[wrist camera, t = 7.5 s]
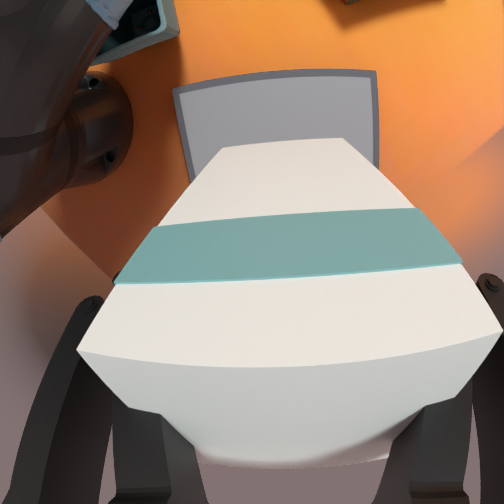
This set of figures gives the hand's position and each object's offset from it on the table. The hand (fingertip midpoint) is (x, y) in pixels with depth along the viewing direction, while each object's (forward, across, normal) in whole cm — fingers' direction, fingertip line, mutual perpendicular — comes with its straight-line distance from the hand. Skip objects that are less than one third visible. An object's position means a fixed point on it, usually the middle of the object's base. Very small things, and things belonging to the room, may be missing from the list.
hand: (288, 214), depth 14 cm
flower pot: (+18, -12, +17) cm, 27 cm away
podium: (+17, 0, 0) cm, 17 cm away
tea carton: (+3, 0, 0) cm, 3 cm away
